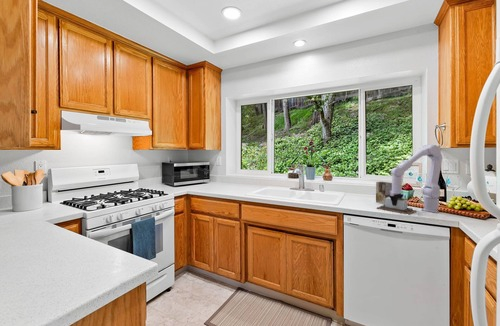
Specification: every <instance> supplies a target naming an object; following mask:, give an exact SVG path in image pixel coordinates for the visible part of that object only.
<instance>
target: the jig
mask: <svg viewBox="0 0 500 326" xmlns="http://www.w3.org/2000/svg"><path fill="white" fill-rule="evenodd" d="M376 209H377V210H382V211H388V212H392V213H396V214H404V215H407V214H408V215H411V213H412V214H414V213H416V212H417V210H416V209H413V208H411V207H407V209H406V210H401V209H395V208H390V207H385V204H382V205H380V206H378V207H376Z"/></svg>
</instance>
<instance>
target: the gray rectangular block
mask: <svg viewBox="0 0 500 326" xmlns="http://www.w3.org/2000/svg"><path fill="white" fill-rule="evenodd" d="M384 205H385V207H390V208H395V209H401V210H406V209H407V208H408V200H407V199H405V198H402V199H400V198H399V199H398V200H397V205H396V206H393V205H392V201H391V198H390V197H388V198H385V204H384Z"/></svg>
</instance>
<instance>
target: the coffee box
mask: <svg viewBox="0 0 500 326" xmlns="http://www.w3.org/2000/svg"><path fill="white" fill-rule="evenodd" d="M390 191H392V182H387V181H376V182H375V202H376V203H378V204H382V205H385V198H388V197H389V195H390V193H391V192H390Z"/></svg>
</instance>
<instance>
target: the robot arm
mask: <svg viewBox="0 0 500 326" xmlns="http://www.w3.org/2000/svg"><path fill="white" fill-rule="evenodd" d="M441 151H442V149H441V147H439V145H436V144H431V145H428V144H426V145H423V146H422V147H421V148H419V149H418V150H417V151H416V152H415V153H414V154H413V155H412V156H411V157H409V158H408V159H404V160H403V159H402V161H401V163H399V164H397V165H396V166H395V167H393V168H391V170H390V175H391V183H392V191H390V192H391V193H390V195H389V197H390V198H391V201H392V205H393V206H396V205H397V200H398V199H399V198H400V199H403V197H404V194H403V189H402V186H403V185H402V184H403V176H404V174H405V172H407V171H408V170H409V169H411V167H413V164H414V163H415V162H416V161H417V160H419V159H420V158H422V157H423V156H425V157H428V158H429V159H430V160H431V161H430V169H429V172H428V178H427V182H426V183H425V184H424V187H423V188H422V191H421V192H422V195H423V196H424V197H423V198H424V200H423V201H424V202H423V208H422V209H421V211H424V212H430V213H438V212H439V211H438V210H437V209H438V208H440V207H439V206H440V205H439V204H440V201H439V198H440V196H441V190H440V189H441V187H440V185H439V178H440V173H441V167H442V162H443V154H442V152H441Z"/></svg>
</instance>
